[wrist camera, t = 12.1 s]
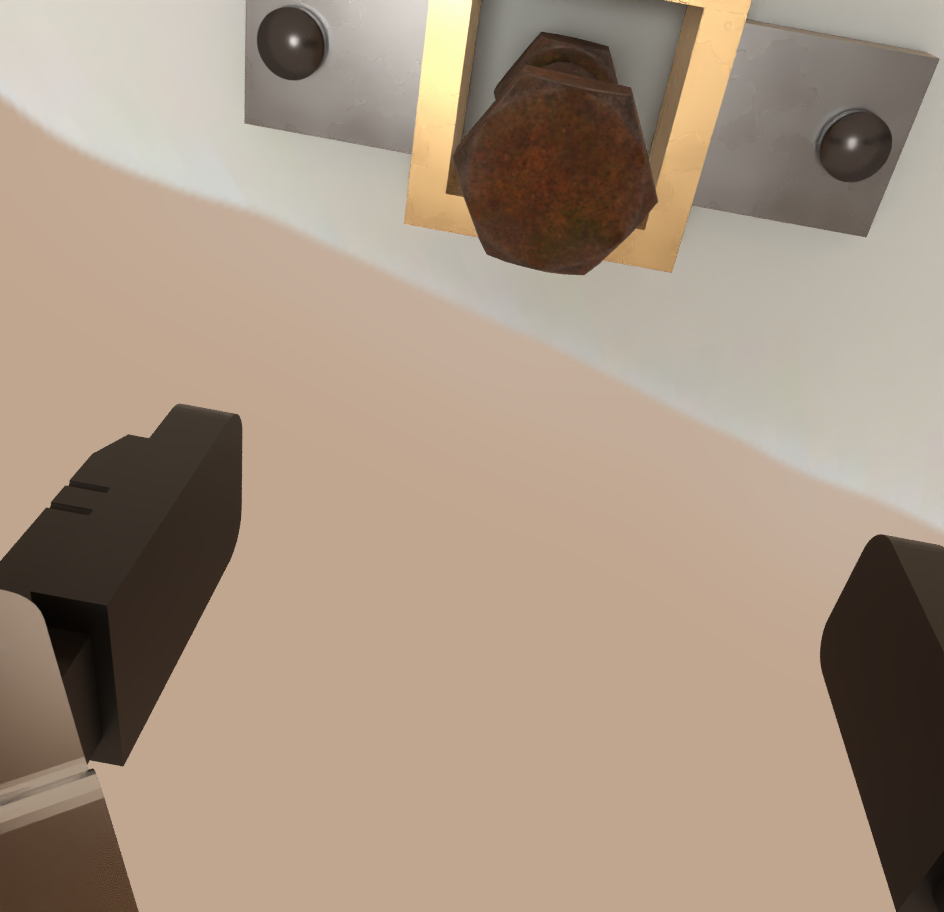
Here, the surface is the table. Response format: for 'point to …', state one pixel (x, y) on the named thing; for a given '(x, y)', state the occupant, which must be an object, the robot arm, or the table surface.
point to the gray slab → (336, 68)
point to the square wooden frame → (673, 147)
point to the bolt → (557, 160)
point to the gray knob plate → (811, 127)
